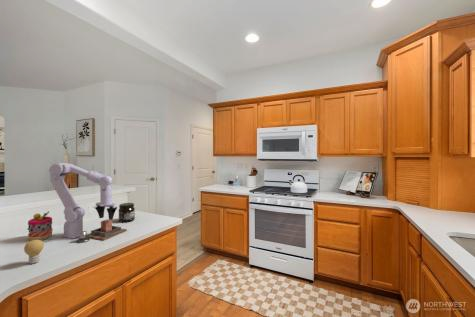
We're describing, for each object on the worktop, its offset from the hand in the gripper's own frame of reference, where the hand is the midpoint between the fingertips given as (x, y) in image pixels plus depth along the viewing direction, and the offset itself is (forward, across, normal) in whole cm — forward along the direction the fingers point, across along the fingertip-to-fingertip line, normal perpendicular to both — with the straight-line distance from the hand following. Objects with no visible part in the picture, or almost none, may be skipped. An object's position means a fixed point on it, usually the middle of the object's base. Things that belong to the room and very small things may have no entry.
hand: (106, 218), depth 130 cm
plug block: (+8, 0, 0) cm, 8 cm away
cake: (+10, -30, -17) cm, 36 cm away
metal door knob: (+9, -3, -12) cm, 16 cm away
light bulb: (+10, 0, -36) cm, 37 cm away
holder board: (+9, 0, 0) cm, 9 cm away
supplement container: (+10, -9, +24) cm, 27 cm away
